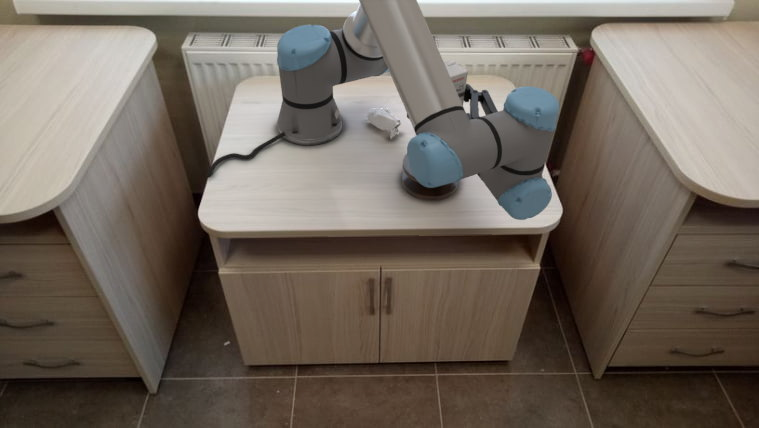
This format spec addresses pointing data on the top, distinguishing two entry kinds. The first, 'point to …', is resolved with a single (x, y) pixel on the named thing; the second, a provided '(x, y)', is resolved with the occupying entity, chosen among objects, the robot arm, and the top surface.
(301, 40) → the robot arm
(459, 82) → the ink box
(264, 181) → the top surface
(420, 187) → the stand
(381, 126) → the crumpled white bag
